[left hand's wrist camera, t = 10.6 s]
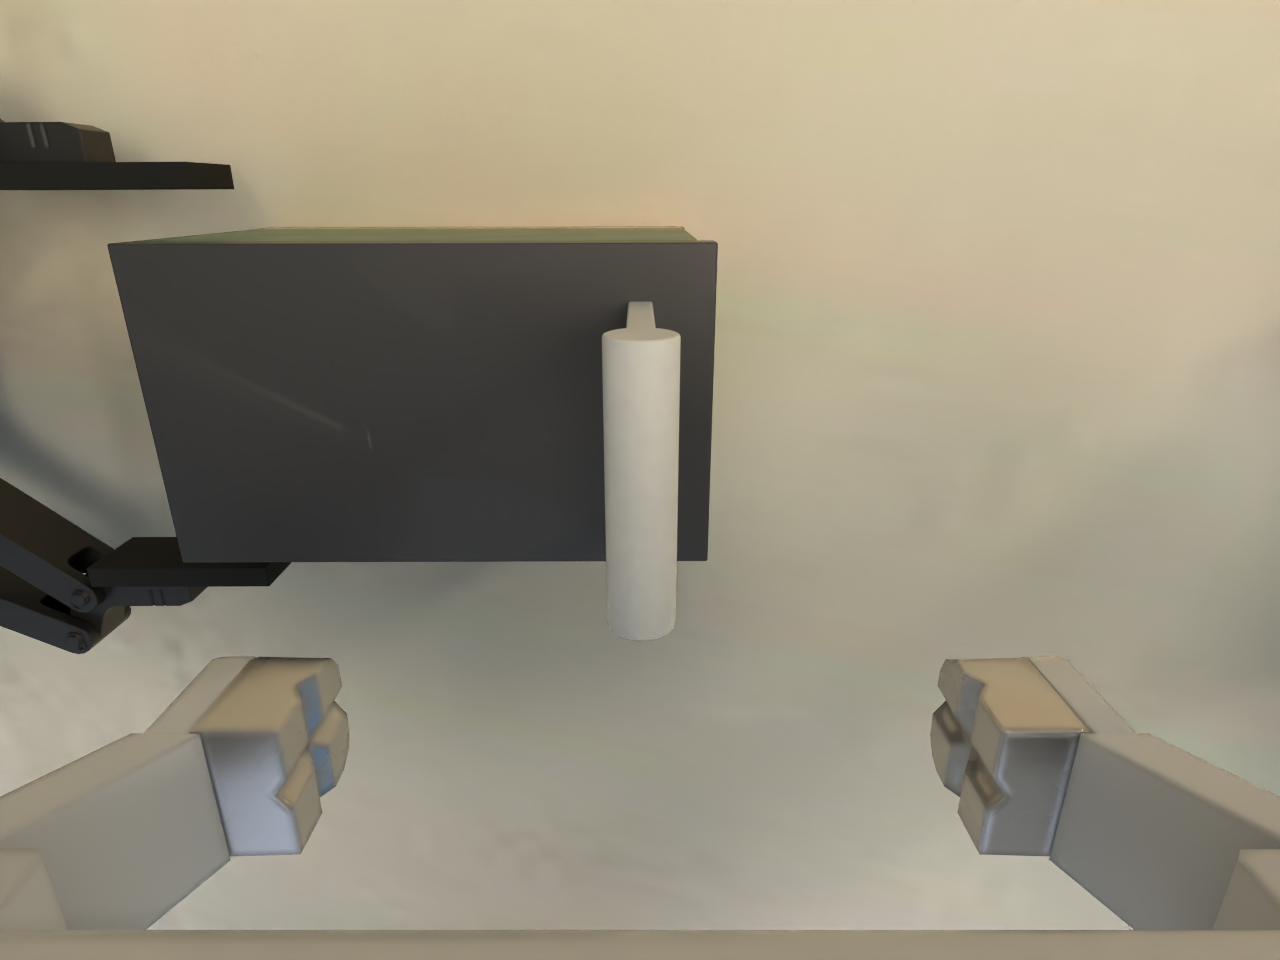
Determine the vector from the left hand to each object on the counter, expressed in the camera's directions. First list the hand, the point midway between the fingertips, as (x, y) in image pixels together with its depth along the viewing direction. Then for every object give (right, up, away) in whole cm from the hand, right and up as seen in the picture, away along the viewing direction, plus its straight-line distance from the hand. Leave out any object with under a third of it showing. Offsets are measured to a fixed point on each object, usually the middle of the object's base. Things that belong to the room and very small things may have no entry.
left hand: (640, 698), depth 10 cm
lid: (-6, +5, +14) cm, 16 cm away
